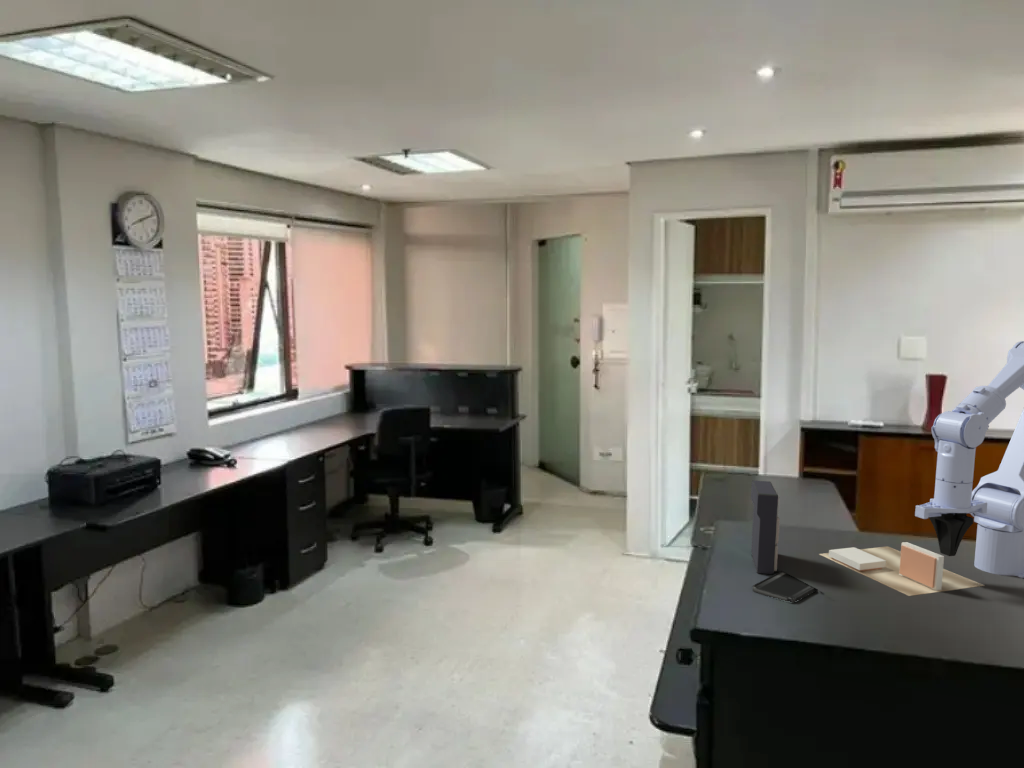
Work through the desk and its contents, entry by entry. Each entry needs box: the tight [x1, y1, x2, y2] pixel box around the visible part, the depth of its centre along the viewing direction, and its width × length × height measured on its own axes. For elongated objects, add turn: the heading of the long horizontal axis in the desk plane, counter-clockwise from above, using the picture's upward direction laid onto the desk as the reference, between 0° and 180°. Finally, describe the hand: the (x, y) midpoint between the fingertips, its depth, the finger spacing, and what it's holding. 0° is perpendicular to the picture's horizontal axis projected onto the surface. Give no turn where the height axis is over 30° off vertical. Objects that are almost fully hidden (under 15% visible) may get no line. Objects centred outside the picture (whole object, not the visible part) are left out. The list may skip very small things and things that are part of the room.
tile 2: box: [899, 541, 945, 591], centre depth 136 cm, size 2×8×6 cm, turn 19°
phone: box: [752, 570, 819, 602], centre depth 136 cm, size 8×1×15 cm
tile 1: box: [828, 547, 886, 571], centre depth 146 cm, size 2×8×6 cm
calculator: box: [750, 480, 781, 575], centre depth 146 cm, size 11×4×15 cm, turn 168°
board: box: [818, 545, 985, 597], centre depth 144 cm, size 17×22×1 cm
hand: (947, 554), depth 138 cm, fingers closed
